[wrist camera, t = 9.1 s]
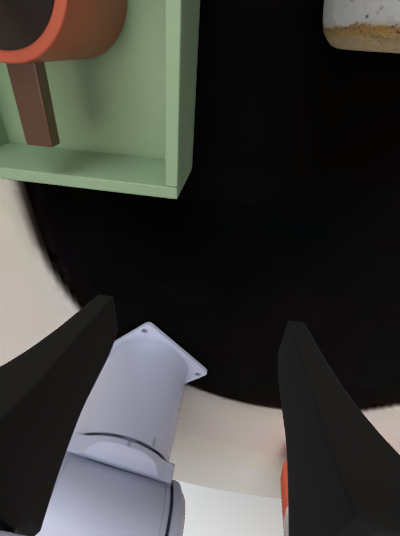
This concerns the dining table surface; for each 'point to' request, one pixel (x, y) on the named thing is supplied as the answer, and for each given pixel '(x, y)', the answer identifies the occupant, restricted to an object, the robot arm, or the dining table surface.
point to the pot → (51, 51)
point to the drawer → (117, 109)
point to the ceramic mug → (363, 25)
